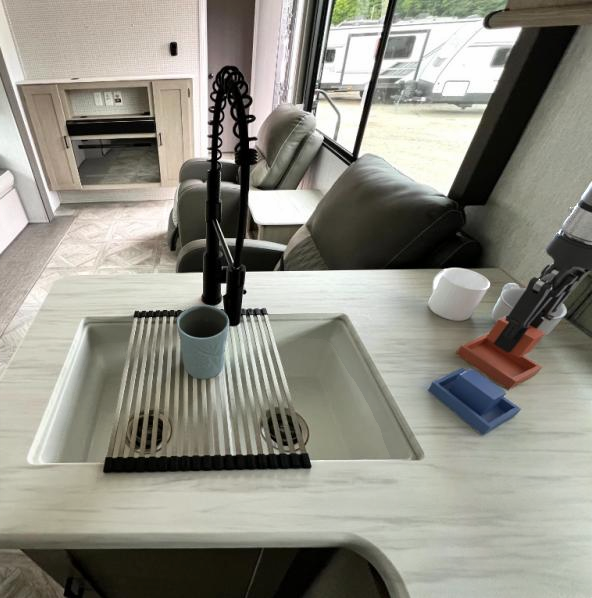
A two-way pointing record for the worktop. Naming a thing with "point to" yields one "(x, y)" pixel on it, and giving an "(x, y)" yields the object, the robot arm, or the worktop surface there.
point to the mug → (457, 293)
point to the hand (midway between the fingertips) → (508, 344)
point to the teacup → (509, 300)
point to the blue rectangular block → (476, 391)
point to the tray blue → (480, 423)
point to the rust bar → (524, 343)
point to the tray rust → (498, 362)
